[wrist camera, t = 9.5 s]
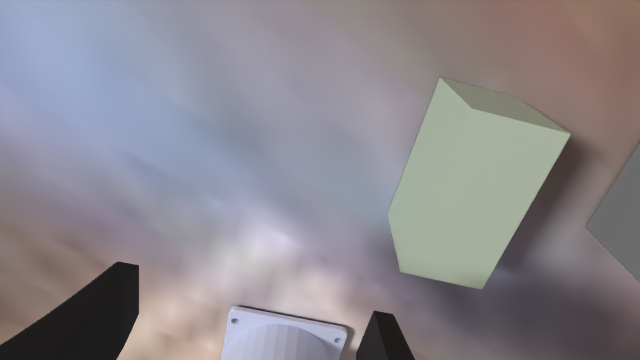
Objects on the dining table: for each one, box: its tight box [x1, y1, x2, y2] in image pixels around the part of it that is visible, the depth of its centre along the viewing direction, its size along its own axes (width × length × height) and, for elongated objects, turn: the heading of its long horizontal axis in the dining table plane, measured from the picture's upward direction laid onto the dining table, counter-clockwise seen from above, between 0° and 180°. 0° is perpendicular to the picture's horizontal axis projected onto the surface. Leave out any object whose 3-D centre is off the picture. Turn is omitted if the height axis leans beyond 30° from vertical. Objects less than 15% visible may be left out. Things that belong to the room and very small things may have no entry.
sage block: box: [388, 78, 571, 290], centre depth 19 cm, size 8×4×5 cm, turn 166°
